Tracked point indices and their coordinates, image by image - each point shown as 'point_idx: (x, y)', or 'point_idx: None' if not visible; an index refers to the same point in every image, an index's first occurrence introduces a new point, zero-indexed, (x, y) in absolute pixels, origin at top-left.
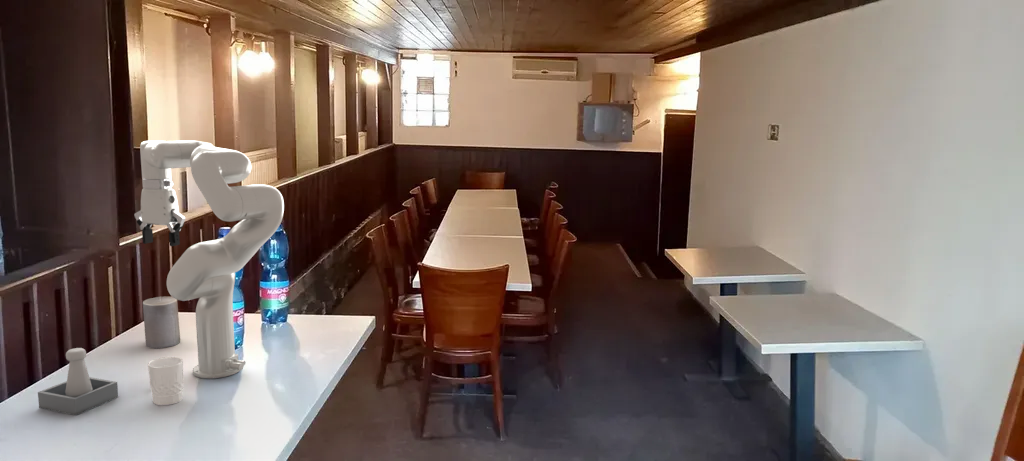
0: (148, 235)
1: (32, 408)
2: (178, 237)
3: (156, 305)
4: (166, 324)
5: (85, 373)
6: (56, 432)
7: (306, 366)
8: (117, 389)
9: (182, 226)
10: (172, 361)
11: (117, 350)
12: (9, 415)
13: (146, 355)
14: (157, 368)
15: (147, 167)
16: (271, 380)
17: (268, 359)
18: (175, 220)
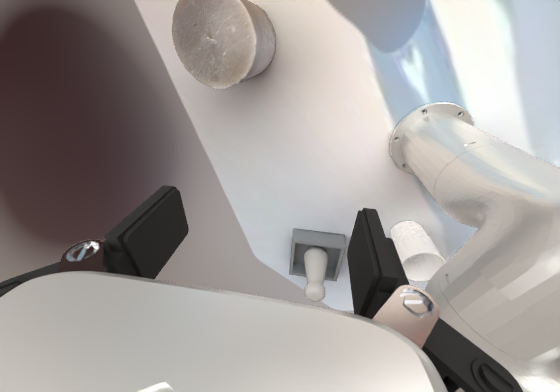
0: (161, 238)
1: (286, 263)
2: (397, 262)
3: (239, 82)
4: (262, 62)
5: (324, 273)
6: (344, 290)
7: None
8: (344, 240)
9: (491, 360)
10: (420, 249)
11: (210, 106)
12: (281, 274)
13: (270, 111)
14: (421, 280)
15: None
16: (542, 150)
17: (515, 52)
18: (341, 335)
